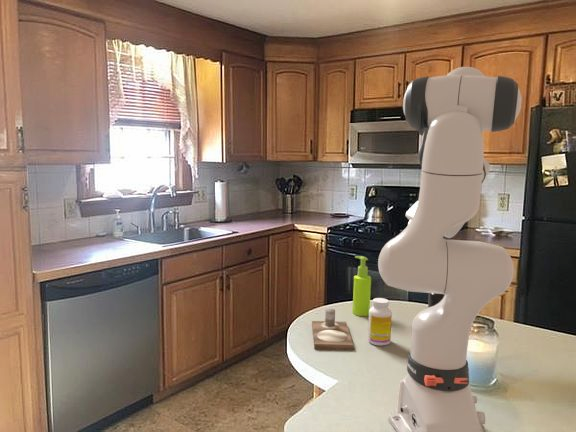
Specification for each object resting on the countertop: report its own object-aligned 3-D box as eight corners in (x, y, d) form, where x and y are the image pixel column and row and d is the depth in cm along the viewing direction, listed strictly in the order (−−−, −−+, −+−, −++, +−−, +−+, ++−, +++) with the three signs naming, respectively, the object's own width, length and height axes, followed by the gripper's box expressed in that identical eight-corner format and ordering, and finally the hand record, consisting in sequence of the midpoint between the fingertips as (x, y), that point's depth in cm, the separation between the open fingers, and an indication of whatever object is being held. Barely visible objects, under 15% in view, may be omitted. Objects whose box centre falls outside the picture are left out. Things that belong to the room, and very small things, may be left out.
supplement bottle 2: (432, 313, 164) (434, 280, 162) (451, 317, 160) (453, 284, 158) (424, 318, 159) (426, 284, 157) (443, 323, 155) (446, 288, 153)
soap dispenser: (361, 308, 168) (364, 254, 165) (372, 314, 162) (375, 258, 159) (347, 310, 165) (349, 255, 163) (358, 316, 159) (360, 259, 156)
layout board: (353, 349, 133) (353, 328, 132) (314, 349, 133) (315, 327, 132) (345, 326, 151) (346, 306, 150) (311, 325, 151) (312, 306, 150)
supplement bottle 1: (393, 346, 136) (395, 303, 134) (371, 347, 135) (373, 304, 133) (385, 336, 143) (387, 296, 141) (364, 337, 142) (366, 297, 140)
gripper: (419, 189, 144) (390, 223, 144) (463, 203, 125) (430, 242, 125) (430, 201, 147) (402, 235, 146) (475, 217, 128) (443, 255, 127)
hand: (415, 238), depth 135 cm, fingers open, 8 cm apart
